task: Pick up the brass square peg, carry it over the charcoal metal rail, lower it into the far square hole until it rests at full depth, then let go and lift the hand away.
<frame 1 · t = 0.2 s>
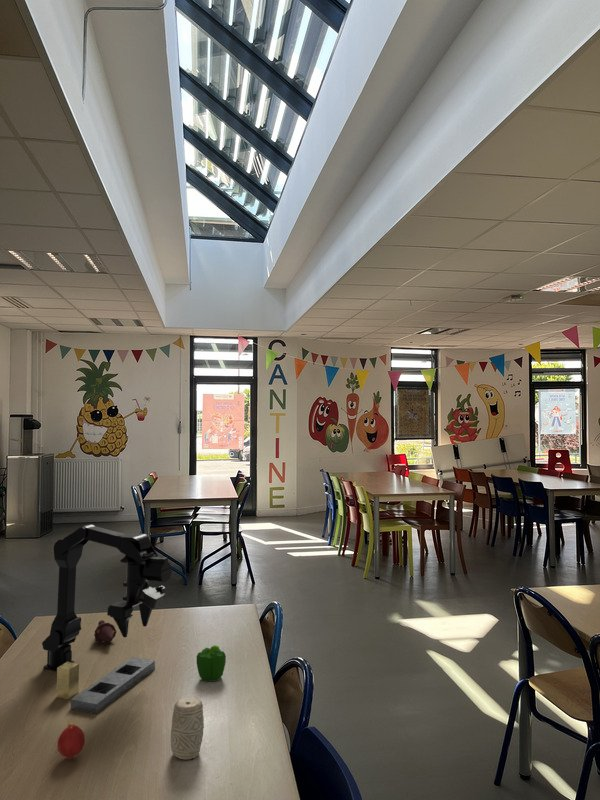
hand: (135, 631, 168), 14 cm above the table, tool pointing down, fingers open, 9 cm apart
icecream: (104, 643, 195), on the table
brass peg: (67, 694, 158), on the table
bell pepper: (210, 679, 169), on the table
onion: (70, 759, 129), on the table
rail: (115, 687, 163), on the table
carving: (186, 755, 131), on the table
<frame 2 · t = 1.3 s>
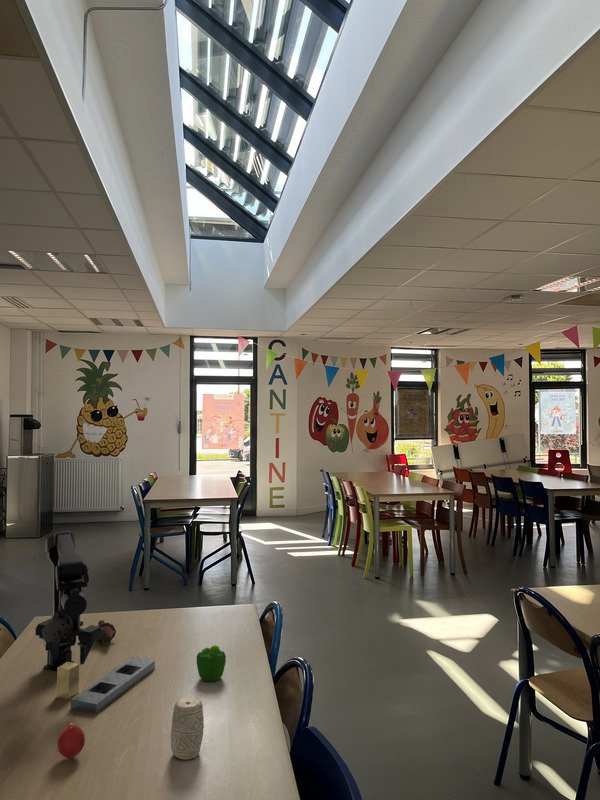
hand: (68, 661, 159), 9 cm above the table, tool pointing down, fingers open, 9 cm apart
nothing on the table moved.
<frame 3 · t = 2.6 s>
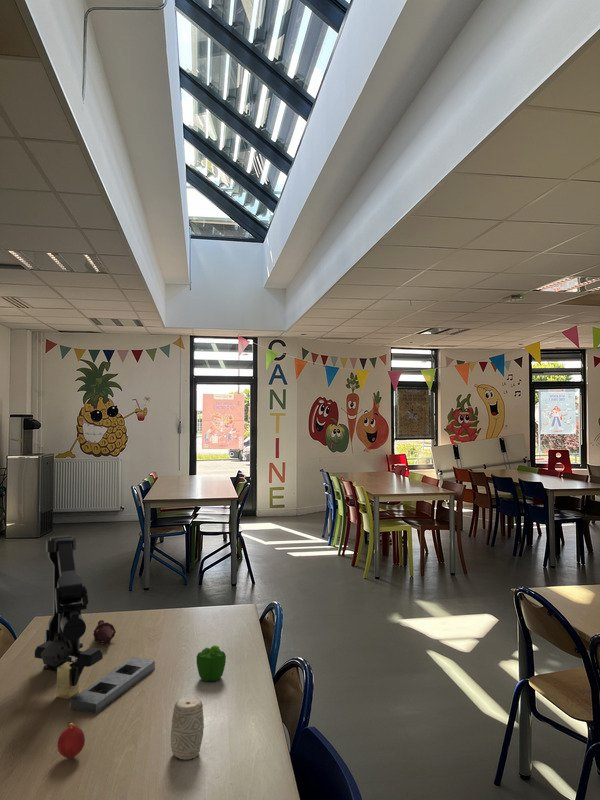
hand: (67, 684, 158), 3 cm above the table, tool pointing down, fingers closed on brass peg, 4 cm apart
brass peg: (67, 694, 158), on the table, touching gripper
everything else where it was.
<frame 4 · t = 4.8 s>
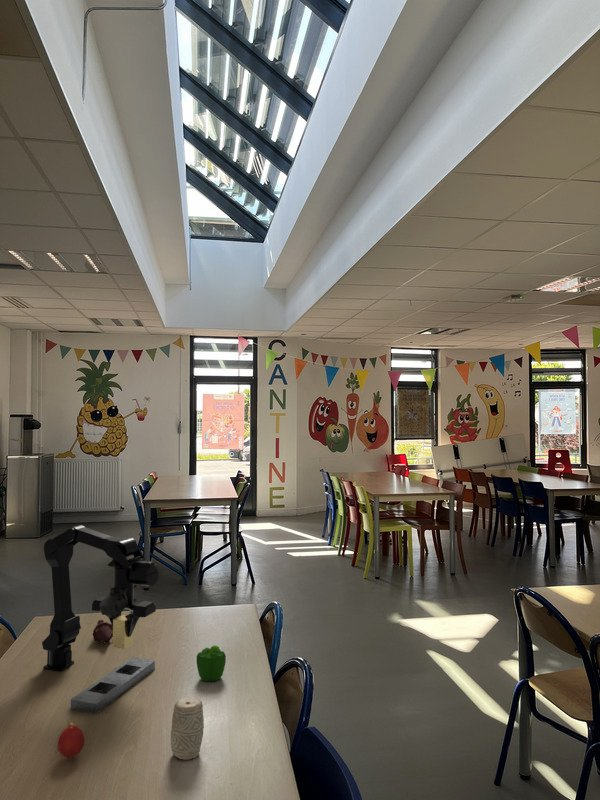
hand: (123, 635, 168), 13 cm above the table, tool pointing down, fingers closed on brass peg, 4 cm apart
brass peg: (122, 645, 167), point 10 cm above the table, touching gripper
everything else where it was.
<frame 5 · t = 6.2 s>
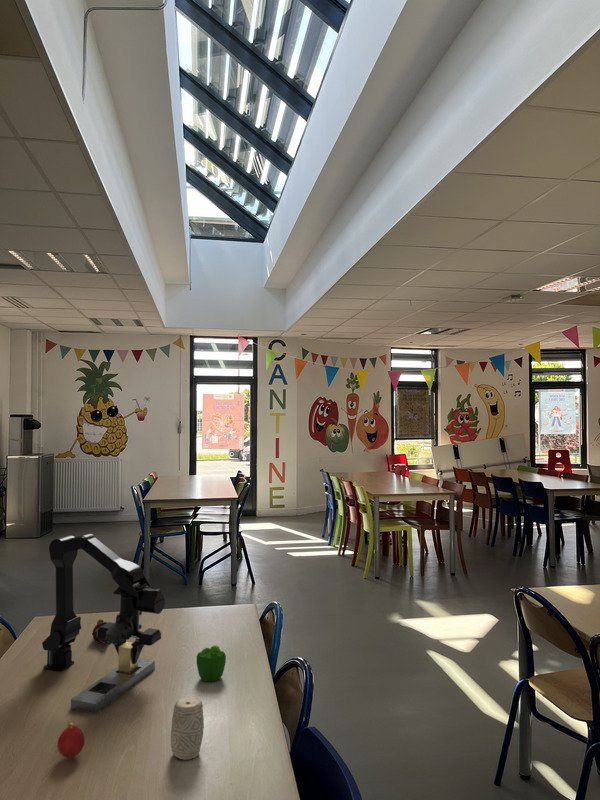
hand: (128, 662, 169), 5 cm above the table, tool pointing down, fingers closed on brass peg, 4 cm apart
brass peg: (127, 672, 169), point 2 cm above the table, touching gripper
when the fingers open (4 cm above the table, at t = 7.3 s): brass peg stays where it is, resting in rail.
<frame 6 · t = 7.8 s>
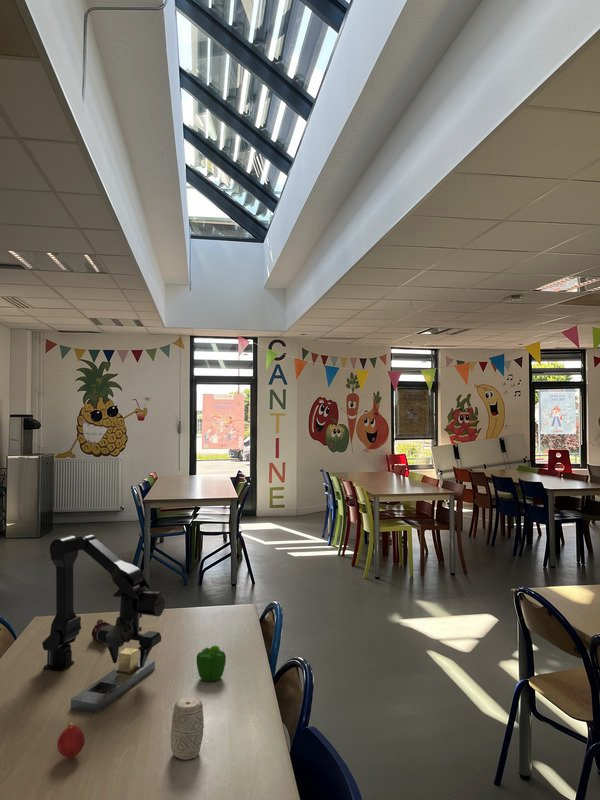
hand: (128, 665, 169), 4 cm above the table, tool pointing down, fingers open, 9 cm apart
brass peg: (127, 678, 169), resting in rail
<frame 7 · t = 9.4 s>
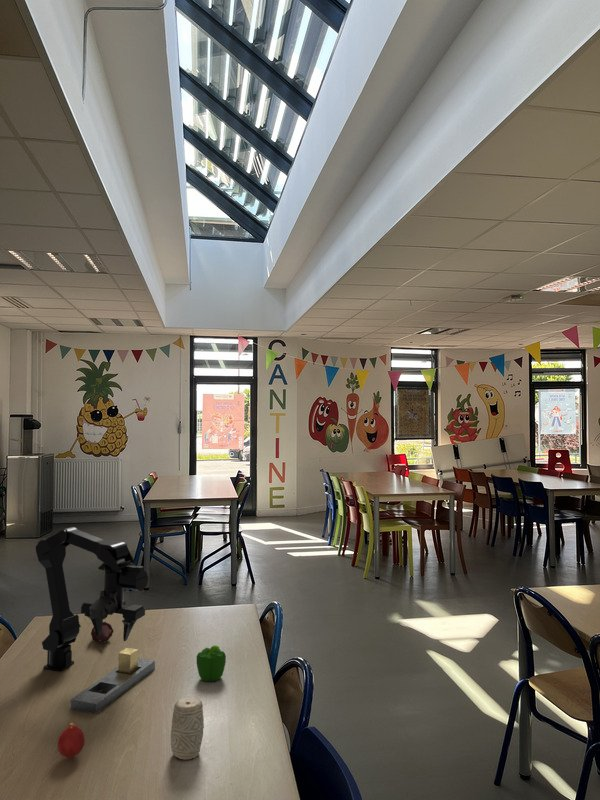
hand: (111, 638, 169), 12 cm above the table, tool pointing down, fingers open, 9 cm apart
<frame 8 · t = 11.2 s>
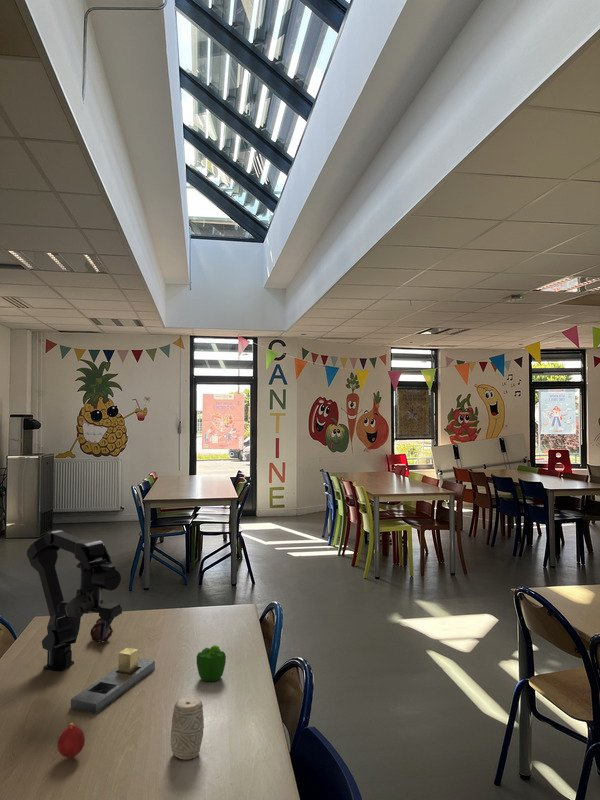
hand: (89, 637, 168), 12 cm above the table, tool pointing down, fingers open, 9 cm apart
at the end: brass peg 0.1 cm from the target spot on the rail, point 0.0 cm above the rail's base; brass peg tilted 0°; the gripper is holding nothing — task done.
